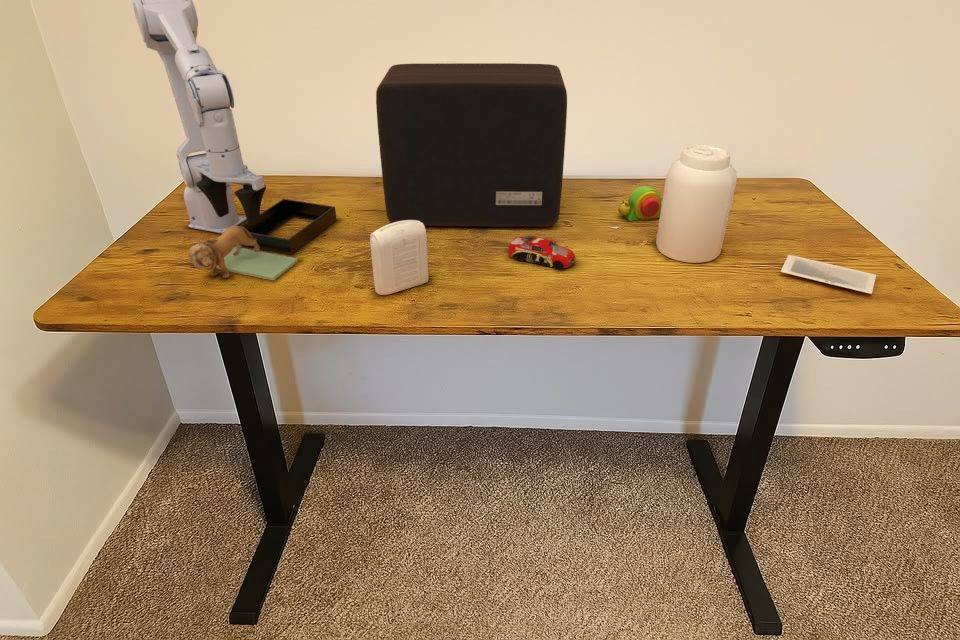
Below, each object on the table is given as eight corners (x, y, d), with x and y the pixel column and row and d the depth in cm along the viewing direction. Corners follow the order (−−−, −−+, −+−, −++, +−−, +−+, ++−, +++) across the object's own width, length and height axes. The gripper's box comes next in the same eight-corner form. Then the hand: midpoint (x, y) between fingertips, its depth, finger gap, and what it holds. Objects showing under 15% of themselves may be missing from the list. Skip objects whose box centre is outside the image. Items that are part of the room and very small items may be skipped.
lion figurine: (219, 293, 117) (200, 255, 110) (196, 287, 119) (176, 249, 112) (267, 243, 126) (251, 205, 119) (245, 238, 128) (229, 200, 121)
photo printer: (421, 272, 121) (417, 211, 114) (432, 282, 118) (429, 220, 111) (371, 288, 116) (363, 225, 110) (381, 299, 113) (375, 235, 107)
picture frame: (237, 245, 131) (233, 230, 129) (286, 212, 144) (283, 198, 142) (291, 255, 127) (289, 240, 125) (337, 220, 140) (335, 206, 139)
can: (642, 241, 131) (657, 144, 120) (693, 231, 135) (712, 136, 124) (680, 269, 122) (700, 167, 111) (734, 257, 126) (758, 157, 114)
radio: (553, 197, 150) (562, 61, 134) (559, 231, 136) (569, 82, 119) (398, 196, 151) (387, 61, 135) (386, 229, 137) (373, 82, 120)
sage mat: (194, 264, 124) (193, 261, 124) (222, 246, 131) (221, 243, 130) (273, 280, 119) (273, 277, 119) (298, 261, 125) (297, 258, 125)
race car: (579, 261, 125) (580, 242, 123) (569, 273, 121) (570, 254, 119) (516, 246, 130) (517, 228, 128) (505, 258, 126) (505, 239, 124)
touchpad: (787, 259, 125) (790, 249, 124) (874, 280, 118) (878, 269, 117) (778, 276, 119) (781, 266, 118) (869, 299, 113) (873, 288, 111)
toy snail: (610, 214, 142) (614, 186, 139) (687, 202, 147) (692, 175, 144) (625, 226, 137) (628, 197, 134) (703, 213, 142) (709, 185, 139)
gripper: (270, 146, 113) (283, 218, 121) (209, 135, 119) (225, 204, 126) (240, 159, 108) (256, 233, 115) (178, 146, 113) (197, 217, 121)
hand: (238, 219), depth 120 cm, fingers open, 7 cm apart
